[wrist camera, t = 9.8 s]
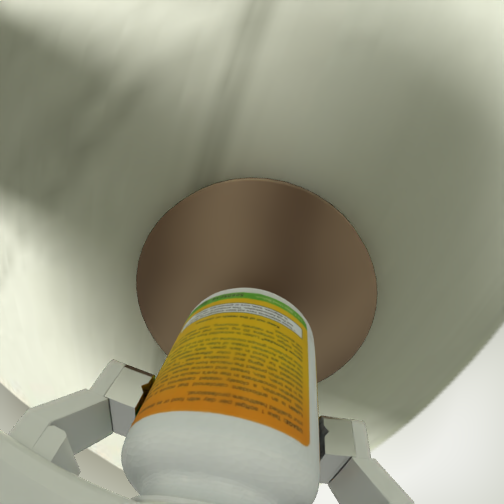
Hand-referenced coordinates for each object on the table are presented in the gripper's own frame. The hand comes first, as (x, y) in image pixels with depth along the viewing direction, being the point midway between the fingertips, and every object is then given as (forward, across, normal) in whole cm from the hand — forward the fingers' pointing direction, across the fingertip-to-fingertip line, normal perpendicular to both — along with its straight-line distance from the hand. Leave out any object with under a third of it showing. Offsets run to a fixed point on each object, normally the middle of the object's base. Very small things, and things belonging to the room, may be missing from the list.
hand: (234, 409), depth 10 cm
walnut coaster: (+7, 0, 0) cm, 7 cm away
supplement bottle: (+4, 0, 0) cm, 4 cm away
